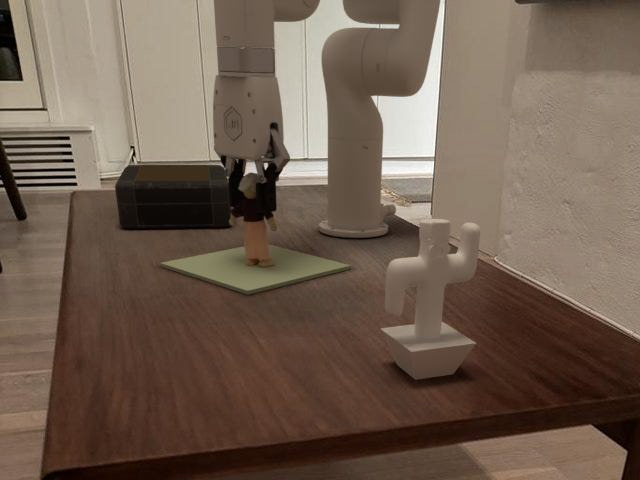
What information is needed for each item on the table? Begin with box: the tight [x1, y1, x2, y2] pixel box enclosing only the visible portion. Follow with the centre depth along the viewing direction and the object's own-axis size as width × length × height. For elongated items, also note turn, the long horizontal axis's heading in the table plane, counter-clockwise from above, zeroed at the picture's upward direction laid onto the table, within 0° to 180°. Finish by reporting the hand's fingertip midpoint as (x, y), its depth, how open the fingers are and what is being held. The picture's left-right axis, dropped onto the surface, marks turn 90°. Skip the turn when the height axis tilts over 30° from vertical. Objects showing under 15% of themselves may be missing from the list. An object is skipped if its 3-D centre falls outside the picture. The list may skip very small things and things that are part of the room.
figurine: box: [379, 218, 481, 381], centre depth 73 cm, size 7×9×15 cm
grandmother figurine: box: [229, 171, 278, 267], centre depth 107 cm, size 8×4×13 cm, turn 79°
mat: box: [160, 243, 351, 296], centre depth 110 cm, size 20×20×1 cm
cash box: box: [114, 164, 232, 230], centre depth 141 cm, size 25×20×8 cm
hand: (253, 207), depth 106 cm, fingers closed on grandmother figurine, 5 cm apart
